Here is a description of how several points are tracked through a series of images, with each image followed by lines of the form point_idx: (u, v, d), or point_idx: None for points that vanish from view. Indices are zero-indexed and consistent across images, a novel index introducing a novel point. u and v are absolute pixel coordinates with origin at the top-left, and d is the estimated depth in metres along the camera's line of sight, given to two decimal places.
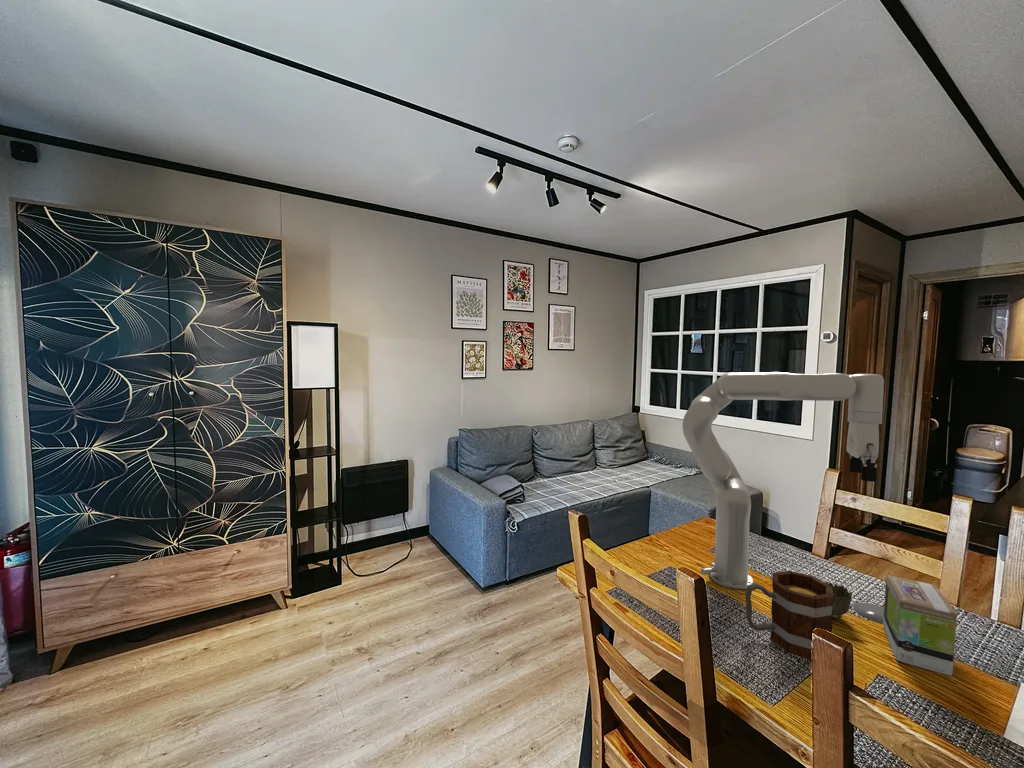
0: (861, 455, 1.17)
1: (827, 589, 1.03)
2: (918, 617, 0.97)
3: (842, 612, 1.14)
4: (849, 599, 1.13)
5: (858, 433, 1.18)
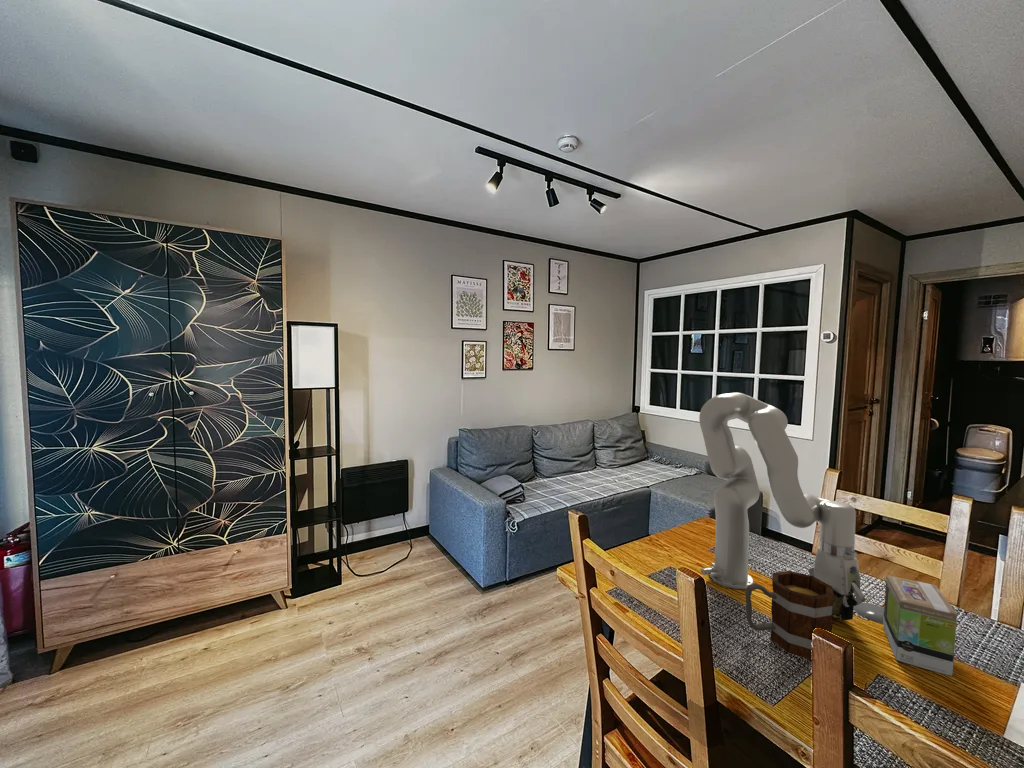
0: None
1: (827, 589, 1.03)
2: (918, 617, 0.97)
3: None
4: (849, 599, 1.13)
5: None
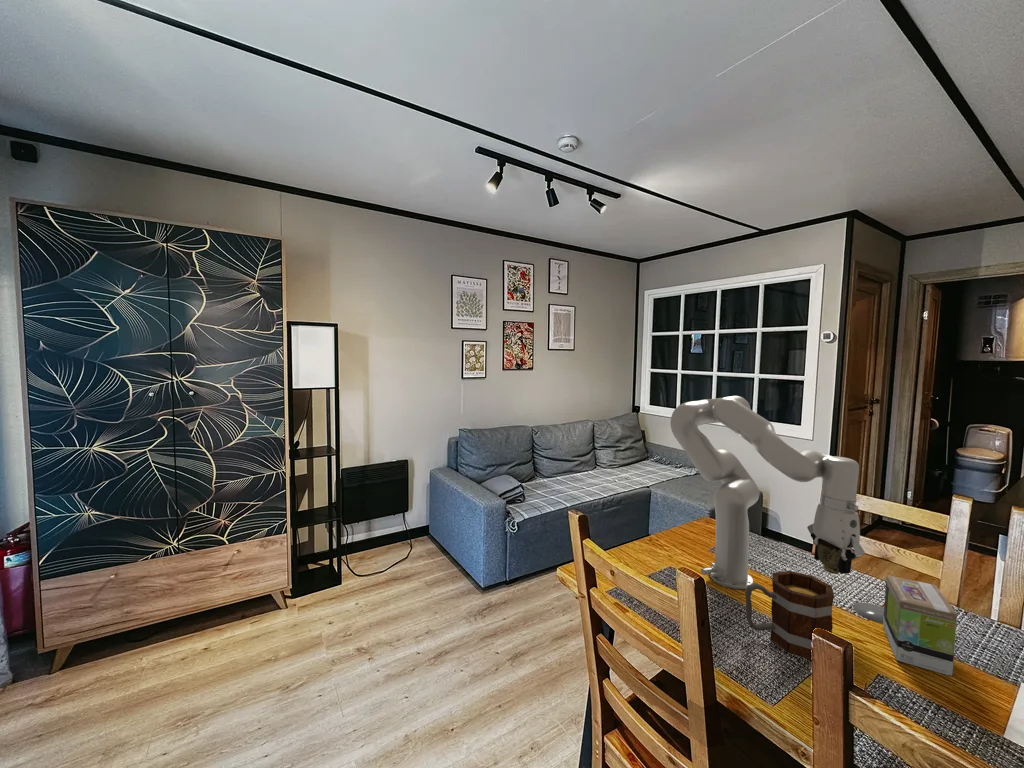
0: None
1: (827, 589, 1.03)
2: (918, 617, 0.97)
3: None
4: None
5: None
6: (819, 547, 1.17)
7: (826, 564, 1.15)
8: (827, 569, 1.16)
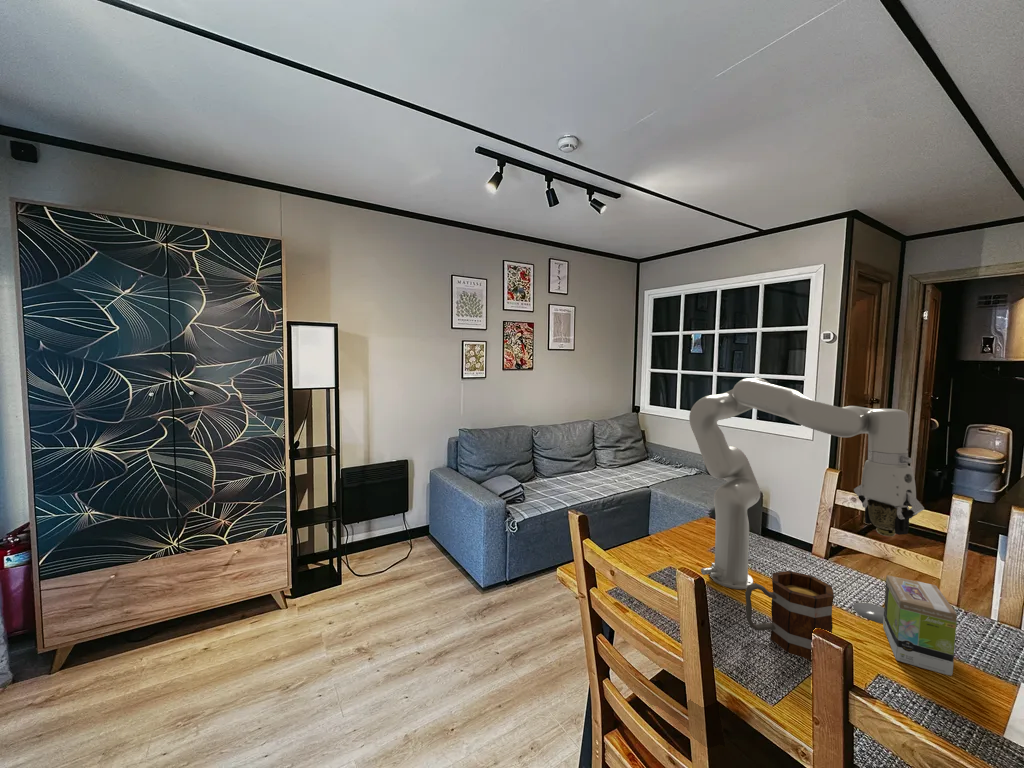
0: None
1: (827, 589, 1.03)
2: (918, 617, 0.97)
3: None
4: None
5: None
6: (870, 508, 1.07)
7: (880, 526, 1.06)
8: (881, 531, 1.06)
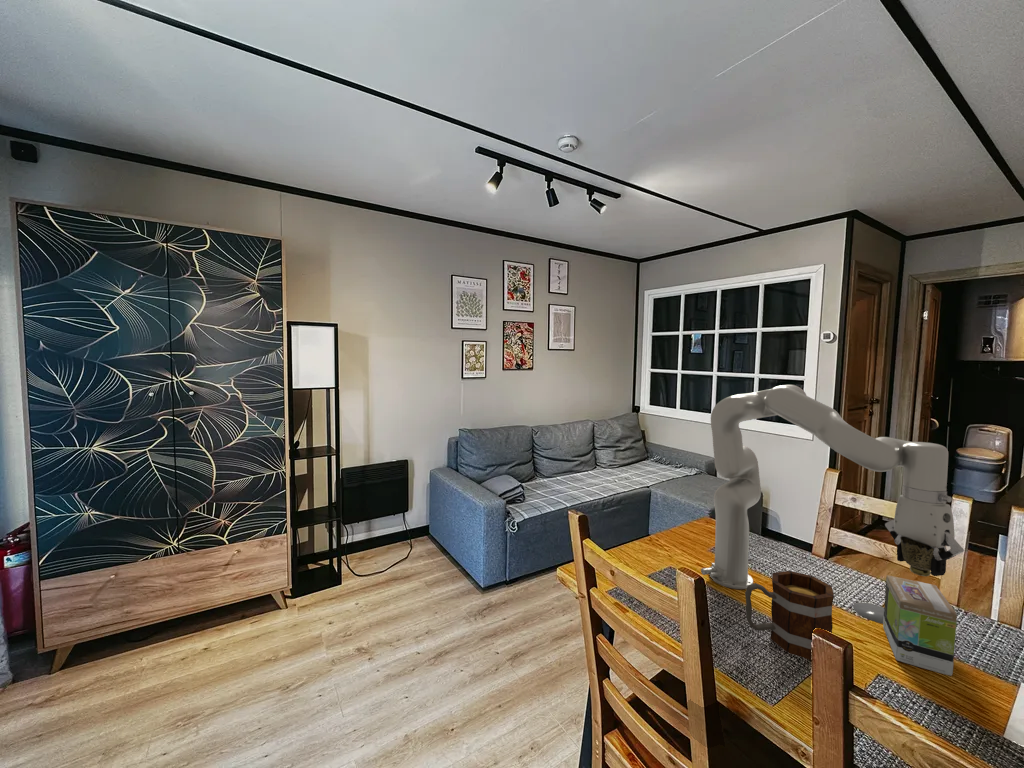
0: None
1: (827, 589, 1.03)
2: (918, 617, 0.97)
3: None
4: None
5: None
6: (905, 546, 1.02)
7: (915, 565, 1.01)
8: (916, 571, 1.02)
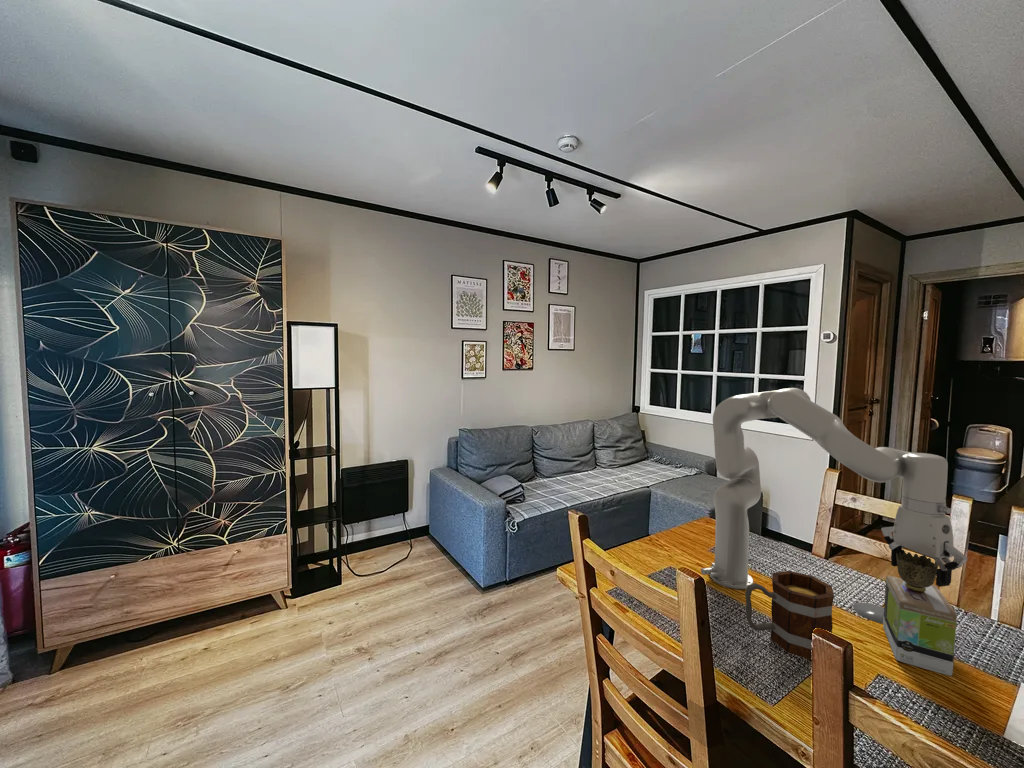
0: None
1: (827, 589, 1.03)
2: (918, 617, 0.97)
3: (927, 584, 1.00)
4: (936, 569, 1.00)
5: None
6: (900, 563, 1.03)
7: (910, 582, 1.02)
8: (911, 588, 1.02)
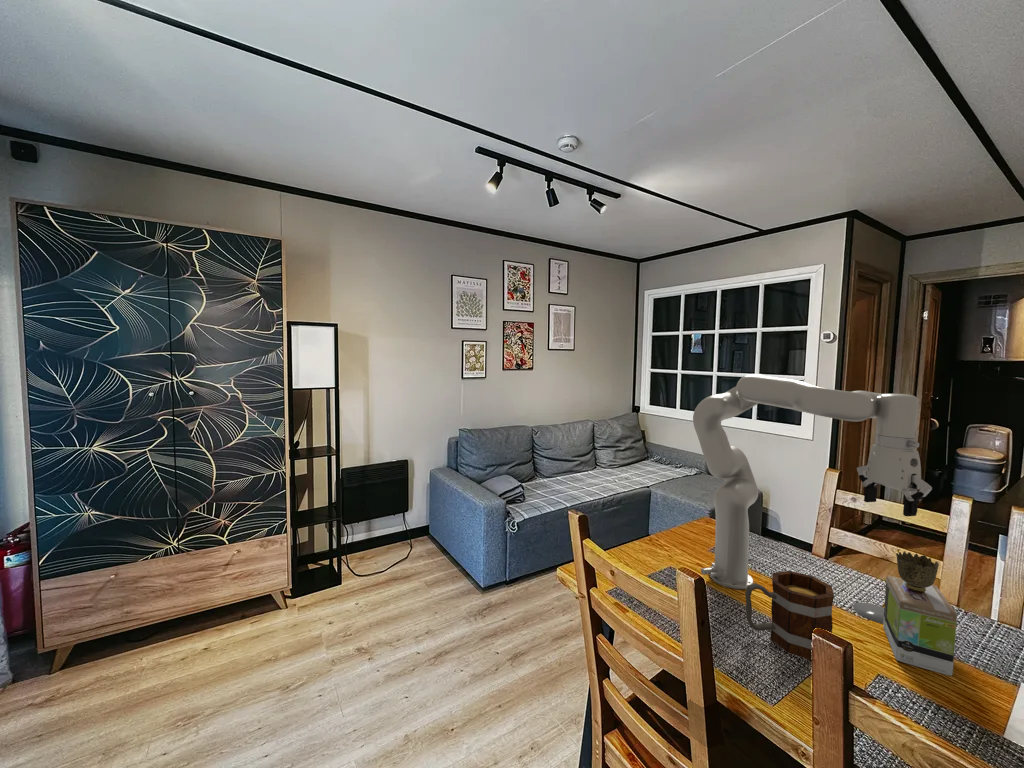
0: None
1: (827, 589, 1.03)
2: (918, 617, 0.97)
3: (928, 584, 1.00)
4: (936, 569, 0.99)
5: None
6: (900, 563, 1.03)
7: (910, 582, 1.02)
8: (911, 588, 1.02)
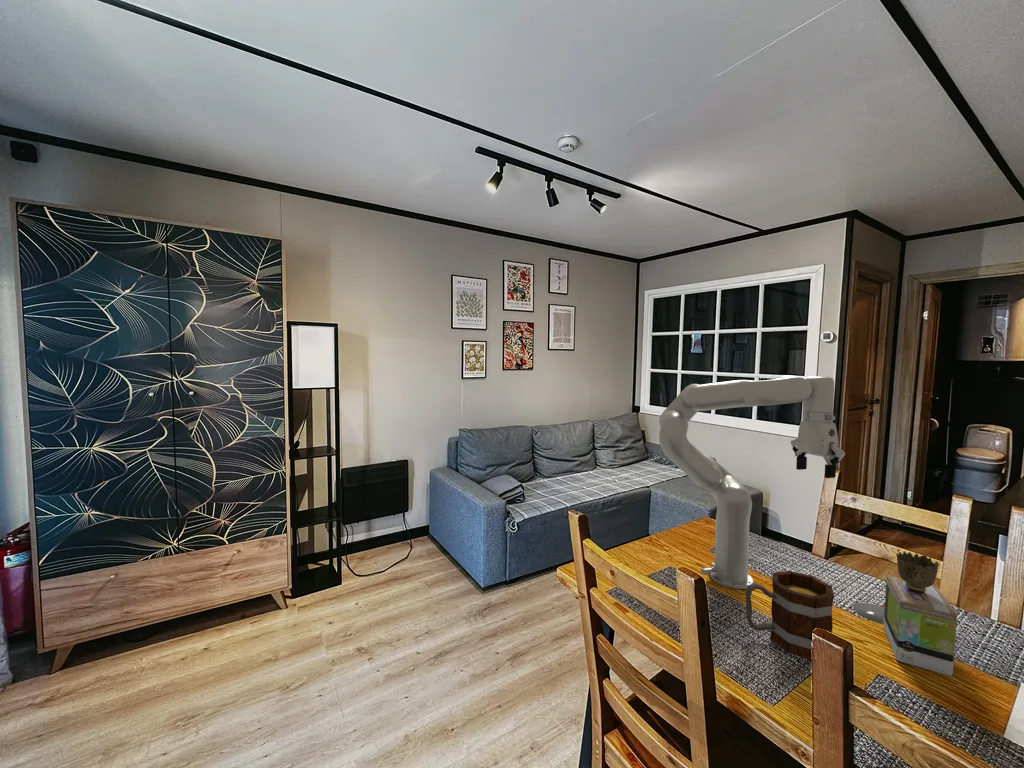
0: None
1: (827, 589, 1.03)
2: (918, 617, 0.97)
3: (928, 584, 1.00)
4: (936, 569, 0.99)
5: None
6: (900, 563, 1.03)
7: (910, 582, 1.02)
8: (911, 588, 1.02)
